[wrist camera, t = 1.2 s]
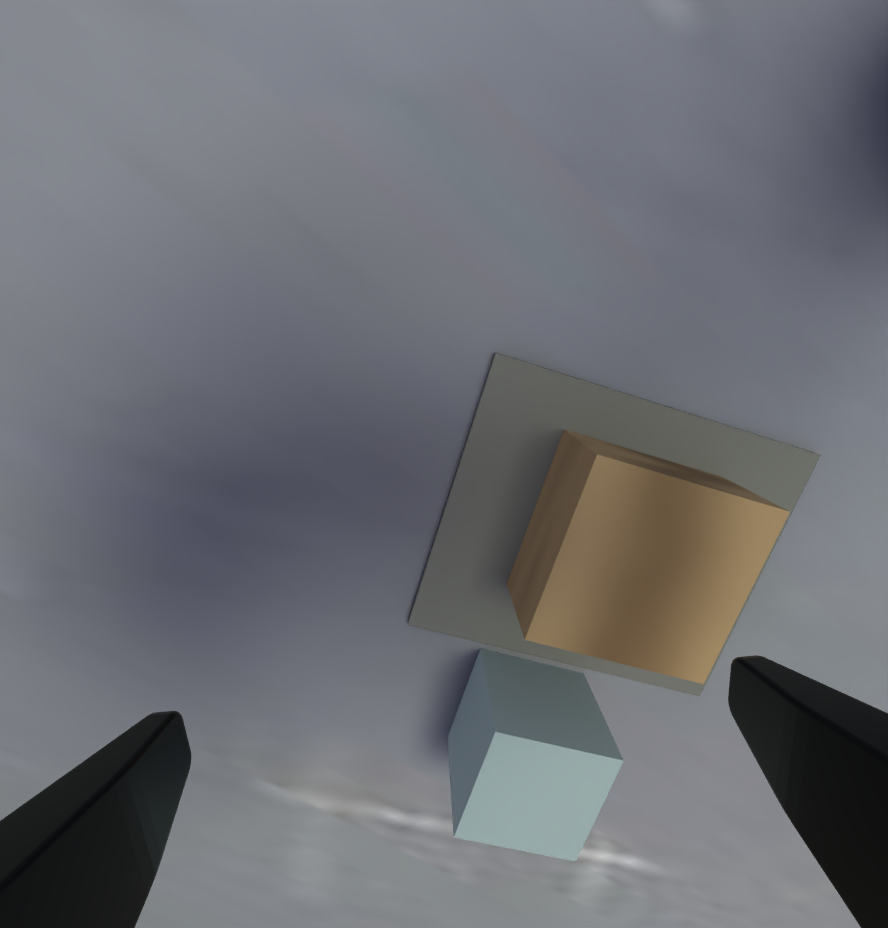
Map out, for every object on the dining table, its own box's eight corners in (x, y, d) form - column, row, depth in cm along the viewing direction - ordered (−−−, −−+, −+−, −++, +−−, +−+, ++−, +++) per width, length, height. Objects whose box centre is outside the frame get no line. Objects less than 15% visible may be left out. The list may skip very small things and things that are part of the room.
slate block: (582, 672, 24) (623, 760, 19) (546, 757, 25) (575, 861, 20) (480, 647, 23) (495, 732, 19) (447, 736, 25) (453, 837, 20)
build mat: (815, 453, 21) (820, 455, 21) (696, 691, 24) (699, 696, 24) (494, 352, 20) (495, 353, 20) (408, 620, 23) (408, 624, 22)
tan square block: (723, 477, 21) (789, 511, 17) (656, 623, 23) (703, 684, 19) (563, 429, 20) (597, 454, 17) (506, 584, 22) (524, 640, 18)
